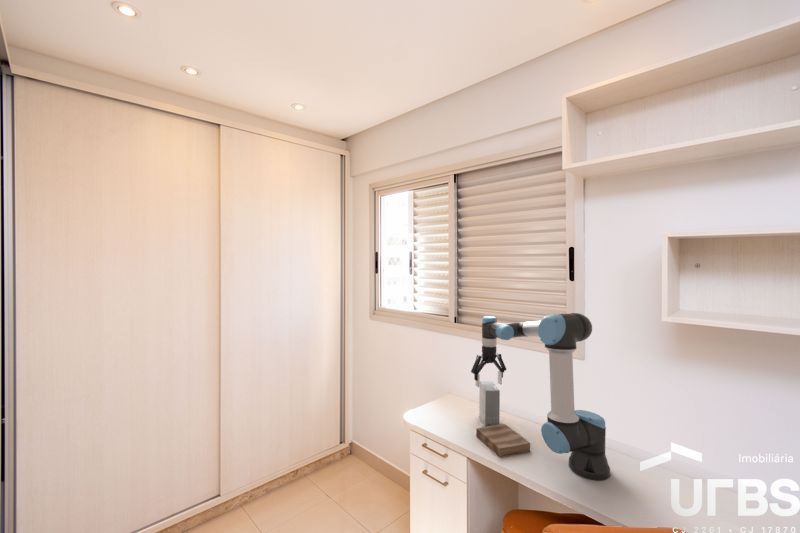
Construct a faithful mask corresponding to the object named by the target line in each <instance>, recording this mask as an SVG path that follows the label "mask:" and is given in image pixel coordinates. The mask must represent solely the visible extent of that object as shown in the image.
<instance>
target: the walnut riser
mask: <svg viewBox="0 0 800 533" xmlns="http://www.w3.org/2000/svg"><path fill="white" fill-rule="evenodd" d="M475 430H476V431H475V432H476V433H475V436H476V438H478V439H479V440H480V441H481V442H482V443H483V444H484V445H486V446H487V448H488V449H490V450H491V451H492V452H493V453H494V454H495V455H497V457H498V458H504V457H509V456H514V455H520V454H521V455H522V454H525V453H531V442H530V441H528V439H526V438H524V437H523V436H522V435H520V434H519V433H518V432H516V431H515V430H513V429H512V428H511V427H510V426H508V425H507V424H505V423H499V425H493V426H487V427H484V426H482V427H481V426H480V427H476V429H475Z"/></svg>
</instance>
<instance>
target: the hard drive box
mask: <svg viewBox="0 0 800 533" xmlns="http://www.w3.org/2000/svg"><path fill="white" fill-rule="evenodd" d="M500 396H501V393H500V389H499V388H498V386H497V385H496V383H494V381H492V380H491V381H490V380H489V381H488V380H487V381H485V380H484V381H483V380H480V384H479V396H478V397H479V399H478V400H479V401H478V402H479V406H478V407H479V409H478V410H479V413H478V414H479V416H478V417H479V418H480V421H481V423H482V425H483V426H482V427H487V426H493V425H499V424H500V415H501V414H500V412H501V411H500V405H501V403H500V401H501V400H500V399H501V397H500Z"/></svg>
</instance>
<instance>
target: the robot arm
mask: <svg viewBox="0 0 800 533" xmlns="http://www.w3.org/2000/svg"><path fill="white" fill-rule="evenodd" d="M481 320H482V321H481V322H482V323H481V336H482V337H481V344H482V345H481V355H479V354H476V359H475V361H474V363H473V365H472V368H471V370H470V373H471V374H474V378H473V379H474V381H475V387H477V388H480V381H481V380H480V376H481V375H480V374H479V373H480V372H481V371H482V369H483V368H484V367H485V365H487V364H493V365H494V366H495V367H496V368H497V369H498V371H497V384H499V385H503V377H504V373H505V371H507V367H506V365H505V362H504V360H503V358H502V354H501V353H499V352H497V338H498V339H499V340H502V341H510V340H511V339H512V338H522V337H525V338H527V337H528V338H529V337H539V338H540V341H541V342H542V343H543V345H544V348H545V349H546V350H547V351H548V356H549V357H548V359H549V362H548V363H549V385H550V386H549V388H550V390H549V391H550V411H548V413H547V414H546V415H547V416H546V417H547V418H546V419H547V421H546V422H544V423H543V424H542V425H541V429H540V431H541V436H542V438H543V441H544V443H545V444H546V446H547V448H549V449H550V450H551V451H552V452H553V453H555V454H558V455H562V454H569V453H570V456H569V457H568V467H569V469H570V470H571V471H572V472H573V473H574V474H577V475H578V476H580V477H582V478H585V479H588V480H591V481H592V480H593V481H604V480H608V479H609V478H610V476H611V468H610V465H609V462H608V459H607V456H606V430H607V427H606V420H605V418H604V417H603V416H602V415H600V414H597V413H595V412H592V411H589V410H584V409H583V410H582V409H575V392H574V391H575V388H574V386H575V384H574V360H573V359H574V358H573V353H574V352H576V350H577V343H579V342H582V341H585V340H587V339H588V338H589V337H590V336H591V335H592V333H593V324H592V322H591V320H590V318H588V317H587V316H586V315H584V314H583V313H577V312H576V313H575V312H572V313H553V314H549V315H545V316H544V317H543V318H541V320H532V321H531V320H530V321H525V320H524V321H519V322H518V321H517V322H498V320H497V317H496V316H493V315H492V316H491V315H484V316H483V317H482V319H481ZM496 359H497V360H496Z"/></svg>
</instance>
